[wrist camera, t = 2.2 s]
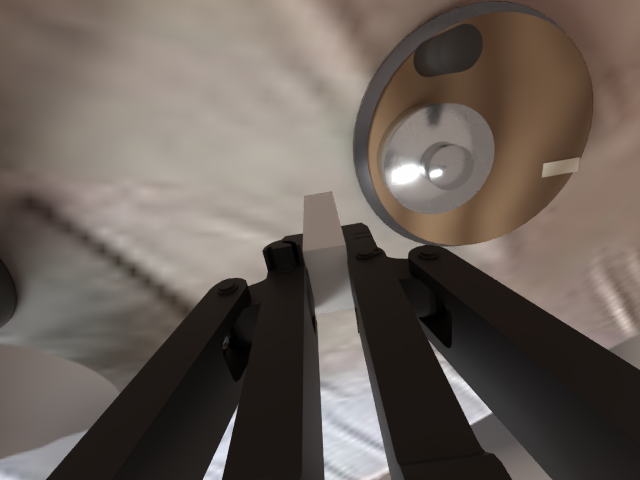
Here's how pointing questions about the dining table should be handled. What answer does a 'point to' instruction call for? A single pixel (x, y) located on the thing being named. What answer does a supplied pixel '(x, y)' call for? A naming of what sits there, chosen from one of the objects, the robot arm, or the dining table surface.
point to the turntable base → (382, 79)
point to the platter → (495, 118)
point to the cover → (435, 156)
